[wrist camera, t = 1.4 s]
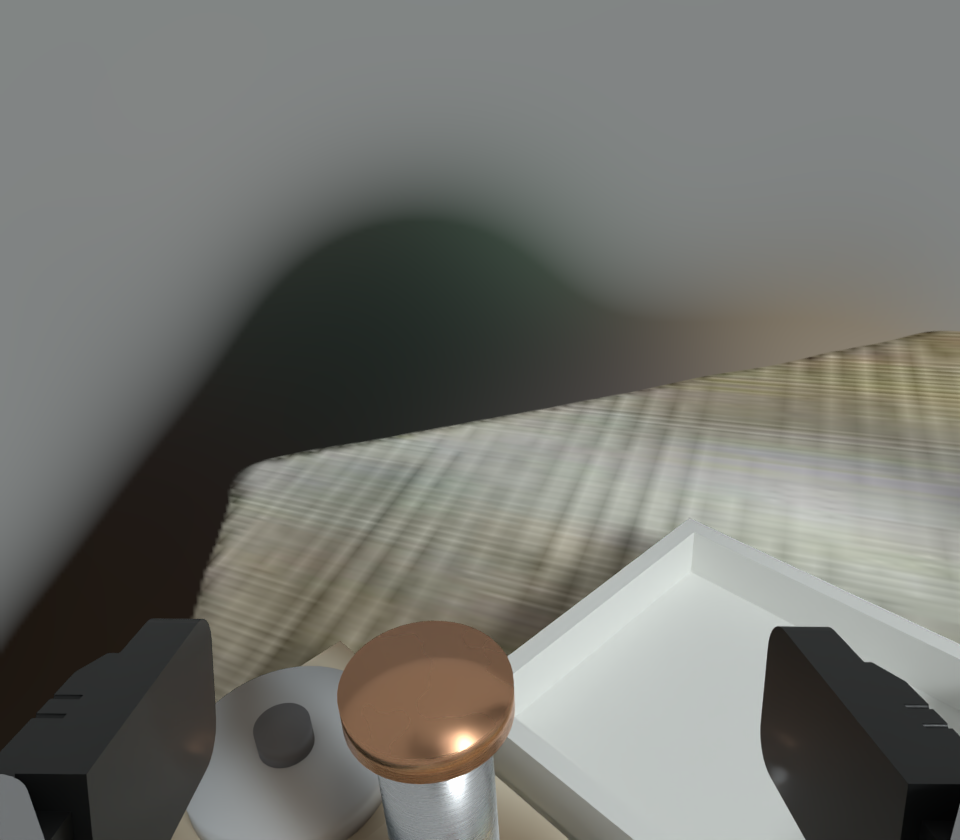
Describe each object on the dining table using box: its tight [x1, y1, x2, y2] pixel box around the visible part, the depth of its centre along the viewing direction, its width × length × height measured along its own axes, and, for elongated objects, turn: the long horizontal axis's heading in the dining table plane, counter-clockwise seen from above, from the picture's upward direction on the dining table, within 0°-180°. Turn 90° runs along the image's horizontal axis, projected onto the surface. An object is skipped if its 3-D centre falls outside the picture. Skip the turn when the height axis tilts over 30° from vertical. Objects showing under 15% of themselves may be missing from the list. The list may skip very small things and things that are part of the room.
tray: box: [493, 518, 960, 840], centre depth 39 cm, size 19×19×4 cm
